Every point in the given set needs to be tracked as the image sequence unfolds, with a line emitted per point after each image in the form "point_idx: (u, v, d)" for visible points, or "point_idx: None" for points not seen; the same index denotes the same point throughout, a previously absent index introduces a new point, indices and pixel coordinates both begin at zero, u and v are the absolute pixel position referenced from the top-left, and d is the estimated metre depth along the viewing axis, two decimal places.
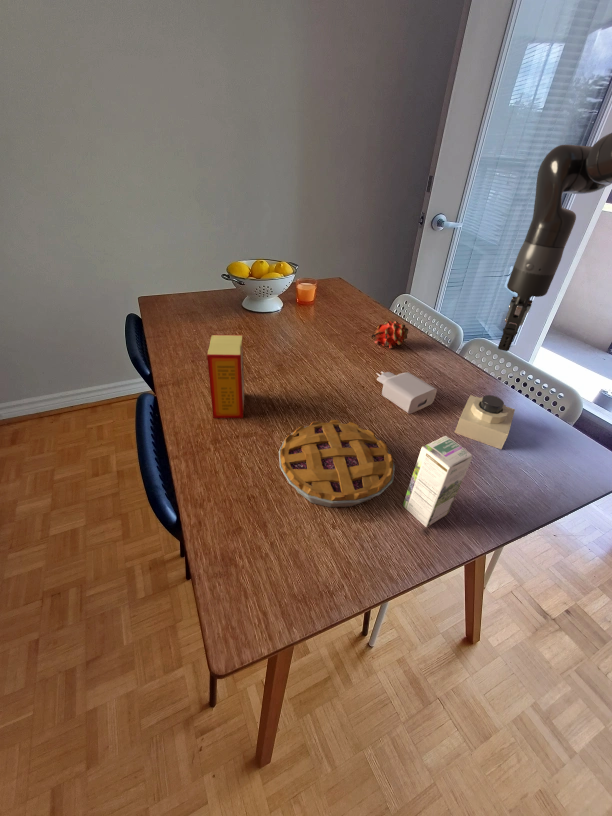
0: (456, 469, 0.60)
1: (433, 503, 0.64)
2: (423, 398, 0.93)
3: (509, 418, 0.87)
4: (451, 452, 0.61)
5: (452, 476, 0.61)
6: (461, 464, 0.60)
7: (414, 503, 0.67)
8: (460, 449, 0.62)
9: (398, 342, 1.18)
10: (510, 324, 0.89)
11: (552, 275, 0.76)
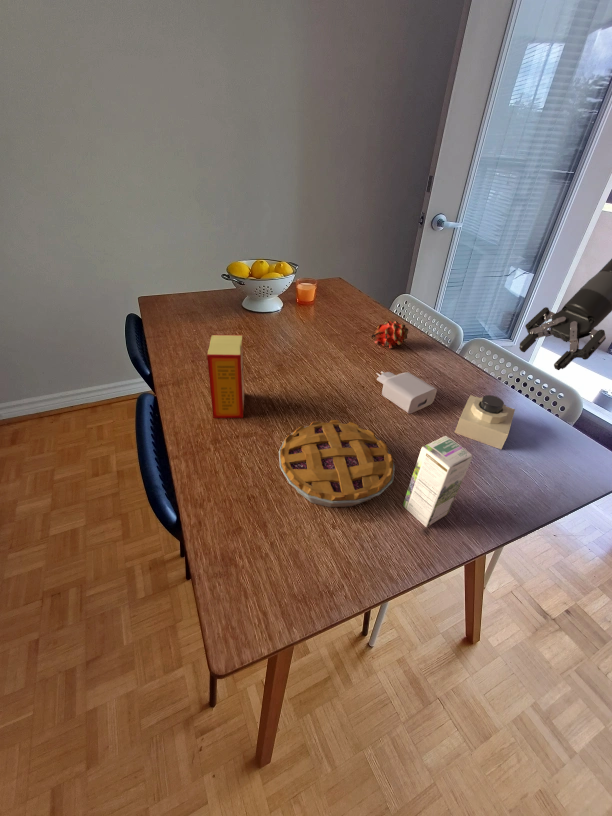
0: (456, 469, 0.60)
1: (433, 503, 0.64)
2: (423, 398, 0.93)
3: (509, 418, 0.87)
4: (451, 452, 0.61)
5: (452, 476, 0.61)
6: (461, 464, 0.60)
7: (414, 503, 0.67)
8: (460, 449, 0.62)
9: (398, 342, 1.18)
10: (531, 340, 0.87)
11: None
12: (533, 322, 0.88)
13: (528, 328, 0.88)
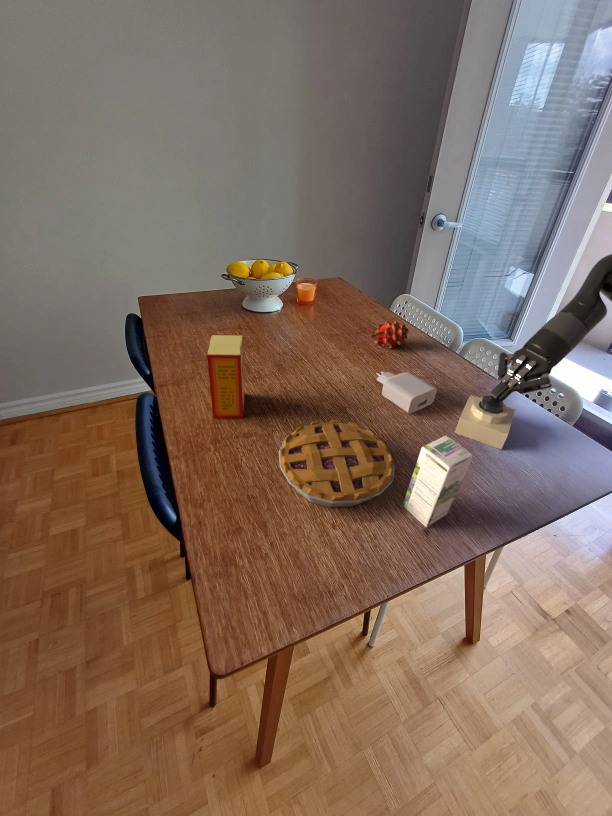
0: (456, 469, 0.60)
1: (433, 503, 0.64)
2: (423, 398, 0.93)
3: (509, 418, 0.87)
4: (451, 452, 0.61)
5: (452, 476, 0.61)
6: (461, 464, 0.60)
7: (414, 503, 0.67)
8: (460, 449, 0.62)
9: (398, 342, 1.18)
10: None
11: None
12: (502, 369, 0.86)
13: (502, 375, 0.86)
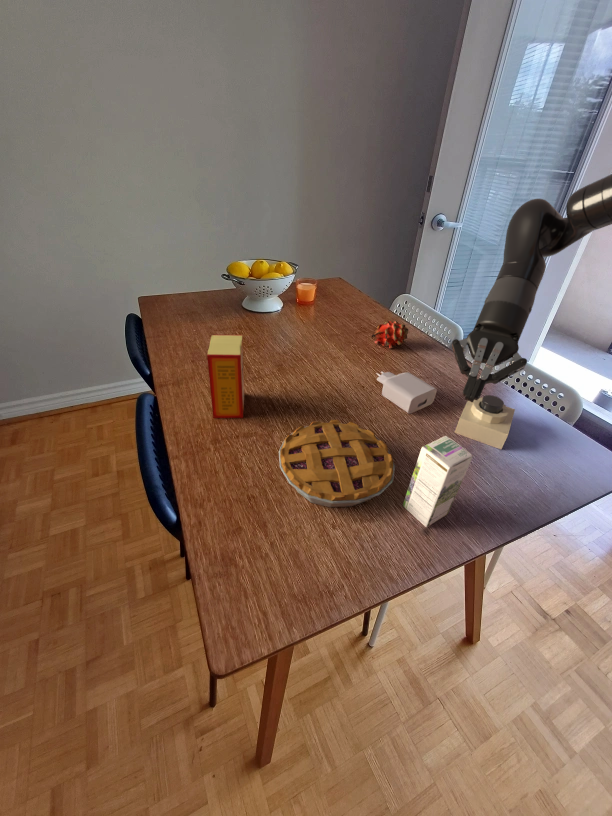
0: (456, 469, 0.60)
1: (433, 503, 0.64)
2: (423, 398, 0.93)
3: (509, 418, 0.87)
4: (451, 452, 0.61)
5: (452, 476, 0.61)
6: (461, 464, 0.60)
7: (414, 503, 0.67)
8: (460, 449, 0.62)
9: (398, 342, 1.18)
10: None
11: None
12: (464, 360, 0.69)
13: (467, 368, 0.68)
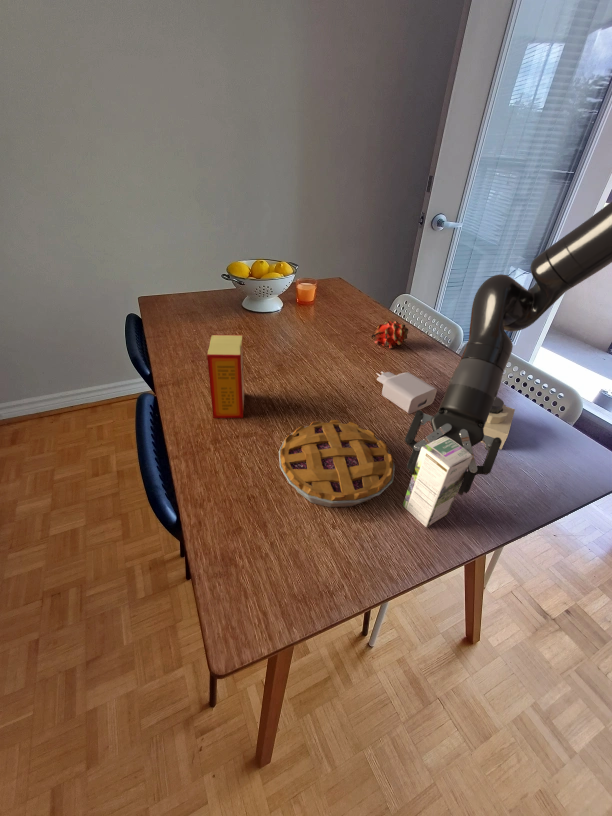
0: (456, 469, 0.60)
1: (433, 503, 0.64)
2: (423, 398, 0.93)
3: (509, 418, 0.87)
4: (451, 452, 0.61)
5: (452, 476, 0.61)
6: (461, 464, 0.60)
7: (414, 503, 0.67)
8: (460, 449, 0.62)
9: (398, 342, 1.18)
10: None
11: None
12: (412, 434, 0.66)
13: (409, 443, 0.66)
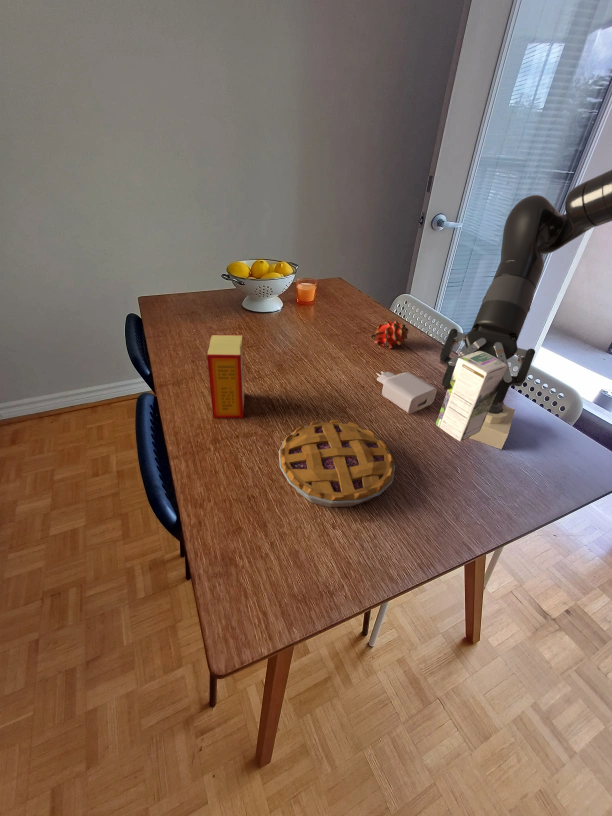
0: (492, 376, 0.63)
1: (468, 414, 0.66)
2: (423, 398, 0.93)
3: (509, 418, 0.87)
4: (487, 362, 0.64)
5: (488, 384, 0.63)
6: (497, 372, 0.63)
7: (448, 419, 0.70)
8: (495, 360, 0.64)
9: (398, 342, 1.18)
10: None
11: None
12: (447, 351, 0.69)
13: (444, 359, 0.69)
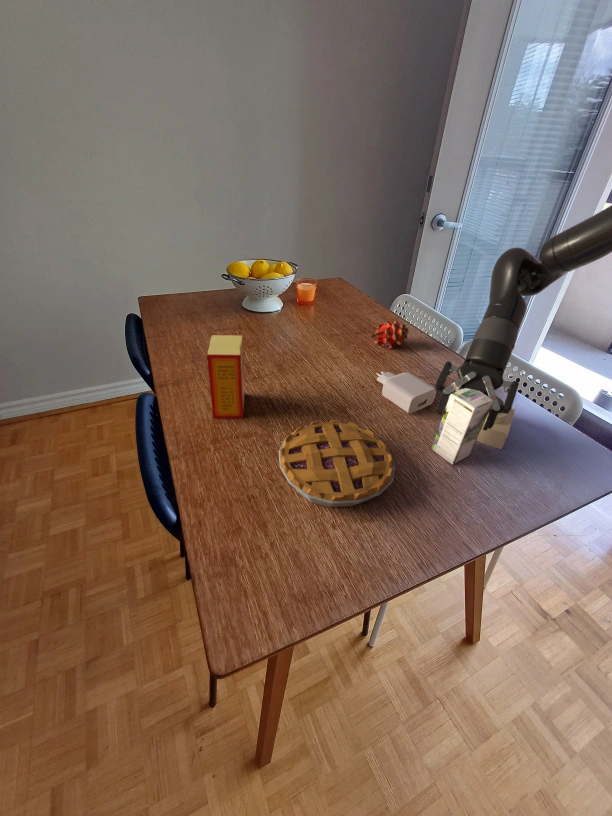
0: (480, 410, 0.73)
1: (459, 442, 0.77)
2: (423, 398, 0.93)
3: (509, 418, 0.87)
4: (475, 397, 0.74)
5: (476, 416, 0.73)
6: (484, 407, 0.73)
7: (442, 444, 0.80)
8: (482, 395, 0.75)
9: (398, 342, 1.18)
10: (447, 401, 0.78)
11: None
12: (442, 381, 0.78)
13: (439, 388, 0.78)
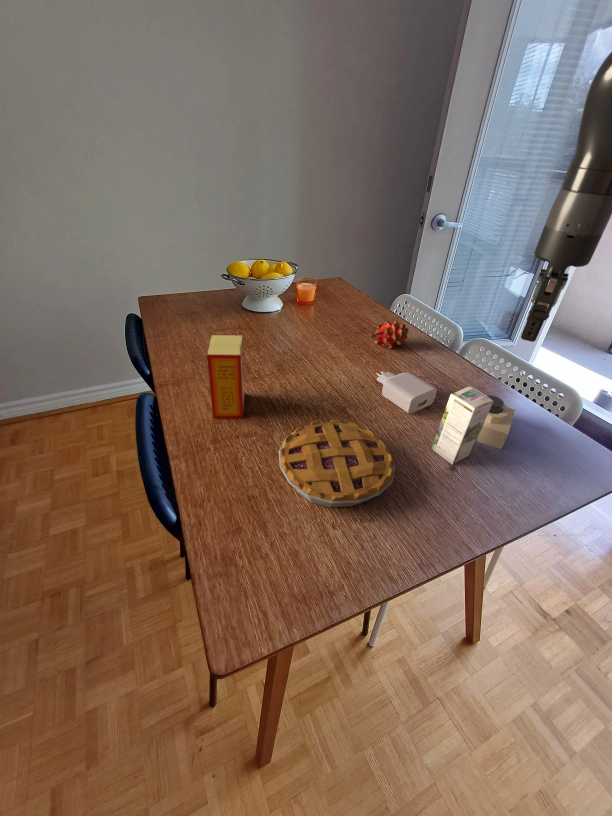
0: (480, 410, 0.73)
1: (459, 442, 0.77)
2: (423, 398, 0.93)
3: (509, 418, 0.87)
4: (475, 397, 0.74)
5: (476, 417, 0.73)
6: (484, 407, 0.73)
7: (442, 444, 0.80)
8: (482, 396, 0.75)
9: (398, 342, 1.18)
10: None
11: None
12: (550, 308, 0.58)
13: None
